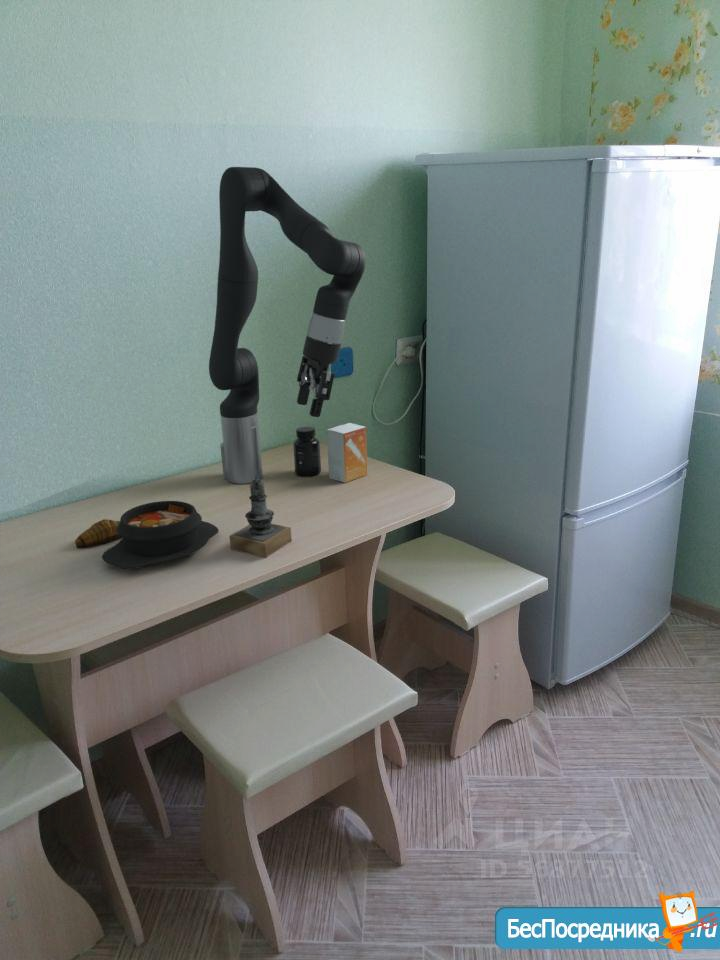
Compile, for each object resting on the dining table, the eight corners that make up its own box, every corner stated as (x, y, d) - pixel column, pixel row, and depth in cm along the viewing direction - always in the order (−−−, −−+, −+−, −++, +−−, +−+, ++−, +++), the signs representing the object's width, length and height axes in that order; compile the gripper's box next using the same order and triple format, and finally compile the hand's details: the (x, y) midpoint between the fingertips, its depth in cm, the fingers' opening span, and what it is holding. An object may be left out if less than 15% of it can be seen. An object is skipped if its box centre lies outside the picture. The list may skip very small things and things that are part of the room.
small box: (345, 483, 197) (343, 433, 192) (328, 478, 201) (325, 429, 197) (368, 475, 202) (366, 426, 198) (351, 470, 206) (349, 422, 202)
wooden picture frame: (230, 549, 162) (229, 535, 161) (257, 533, 169) (255, 519, 168) (266, 557, 158) (264, 542, 156) (291, 540, 165) (290, 526, 164)
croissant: (83, 555, 163) (79, 532, 161) (70, 545, 168) (66, 523, 166) (143, 536, 171) (140, 514, 169) (129, 527, 176) (126, 506, 174)
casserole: (182, 521, 177) (178, 486, 174) (238, 541, 166) (235, 504, 163) (84, 561, 159) (78, 523, 156) (139, 586, 148) (134, 545, 145)
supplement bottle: (289, 474, 205) (286, 430, 201) (307, 467, 210) (305, 423, 206) (308, 479, 201) (305, 434, 196) (326, 472, 205) (324, 427, 201)
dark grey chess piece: (277, 524, 165) (273, 470, 161) (272, 536, 159) (267, 480, 155) (250, 524, 166) (245, 470, 161) (243, 536, 160) (238, 480, 156)
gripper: (297, 327, 170) (281, 398, 175) (319, 342, 158) (302, 418, 163) (328, 332, 174) (312, 402, 179) (353, 348, 162) (335, 422, 167)
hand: (307, 410), depth 171 cm, fingers open, 8 cm apart
